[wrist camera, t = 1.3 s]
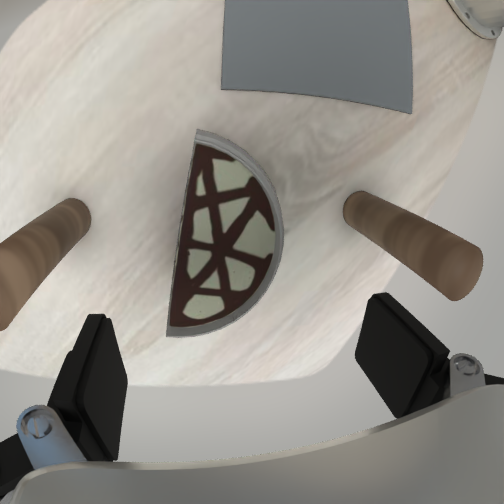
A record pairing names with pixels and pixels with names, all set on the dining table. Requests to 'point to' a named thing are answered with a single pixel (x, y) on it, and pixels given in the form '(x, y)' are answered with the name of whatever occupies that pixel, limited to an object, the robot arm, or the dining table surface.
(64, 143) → the dining table surface
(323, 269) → the dining table surface
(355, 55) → the charcoal mat
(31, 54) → the dining table surface
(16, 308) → the walnut post
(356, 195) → the walnut post
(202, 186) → the food container
